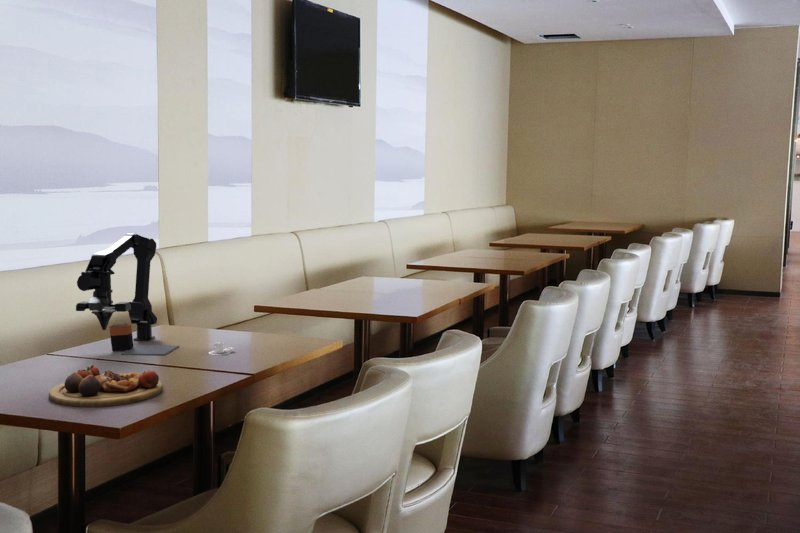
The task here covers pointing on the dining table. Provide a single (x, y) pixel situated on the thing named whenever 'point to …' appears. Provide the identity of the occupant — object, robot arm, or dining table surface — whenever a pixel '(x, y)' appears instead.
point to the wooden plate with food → (105, 388)
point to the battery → (121, 336)
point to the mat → (150, 350)
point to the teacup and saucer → (221, 349)
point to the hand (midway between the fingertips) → (104, 329)
